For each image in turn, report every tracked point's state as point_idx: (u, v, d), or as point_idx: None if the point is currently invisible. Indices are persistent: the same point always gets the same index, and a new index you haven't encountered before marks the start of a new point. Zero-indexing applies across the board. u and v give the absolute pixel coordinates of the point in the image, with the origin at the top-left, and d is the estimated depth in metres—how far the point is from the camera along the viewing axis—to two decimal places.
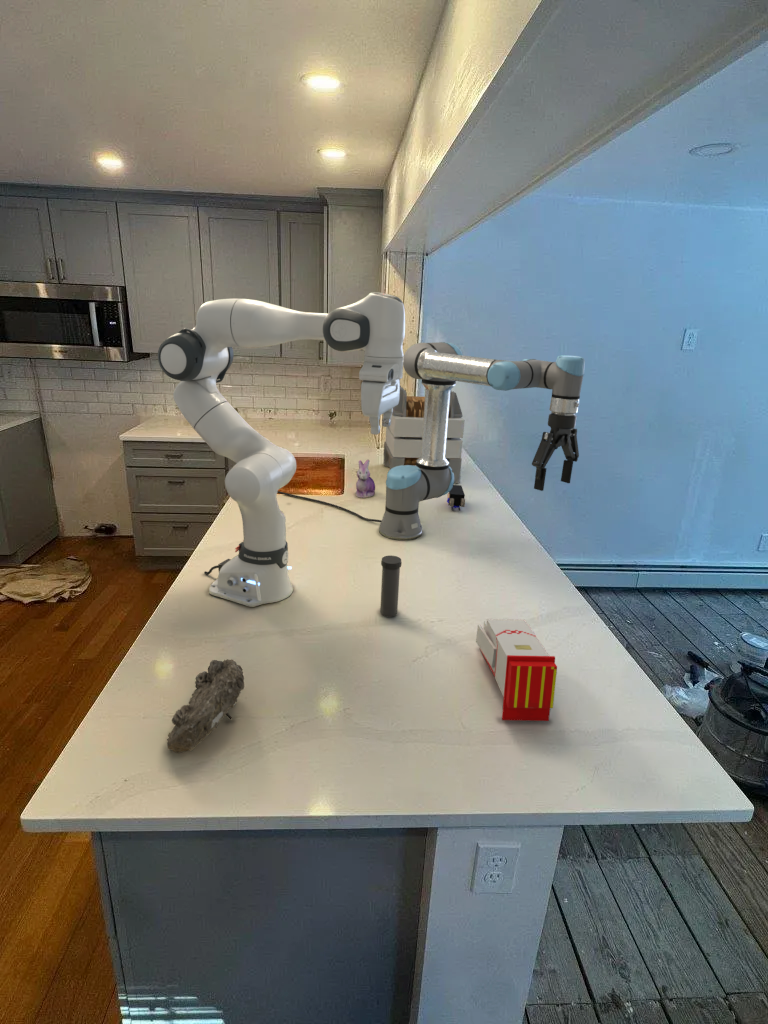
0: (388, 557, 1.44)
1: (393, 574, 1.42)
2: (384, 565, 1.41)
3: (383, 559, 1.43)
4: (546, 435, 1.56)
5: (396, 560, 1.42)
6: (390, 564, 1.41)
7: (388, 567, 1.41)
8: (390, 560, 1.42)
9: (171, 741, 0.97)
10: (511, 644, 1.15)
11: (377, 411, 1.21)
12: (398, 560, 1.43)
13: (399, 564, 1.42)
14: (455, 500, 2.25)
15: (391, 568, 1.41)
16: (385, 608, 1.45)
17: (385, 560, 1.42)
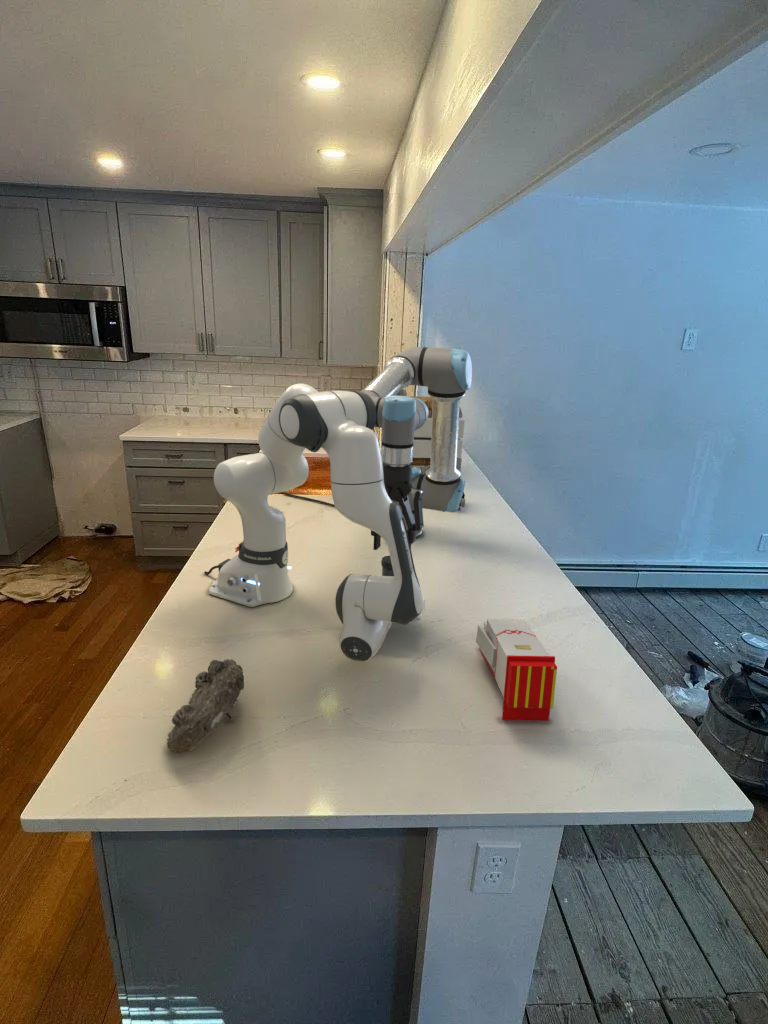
0: (388, 557, 1.44)
1: (393, 574, 1.42)
2: (384, 565, 1.41)
3: (383, 559, 1.43)
4: (421, 494, 1.34)
5: None
6: (390, 564, 1.41)
7: (388, 567, 1.41)
8: (390, 560, 1.42)
9: (171, 741, 0.97)
10: (511, 644, 1.15)
11: None
12: None
13: None
14: None
15: (391, 568, 1.41)
16: None
17: (385, 560, 1.42)
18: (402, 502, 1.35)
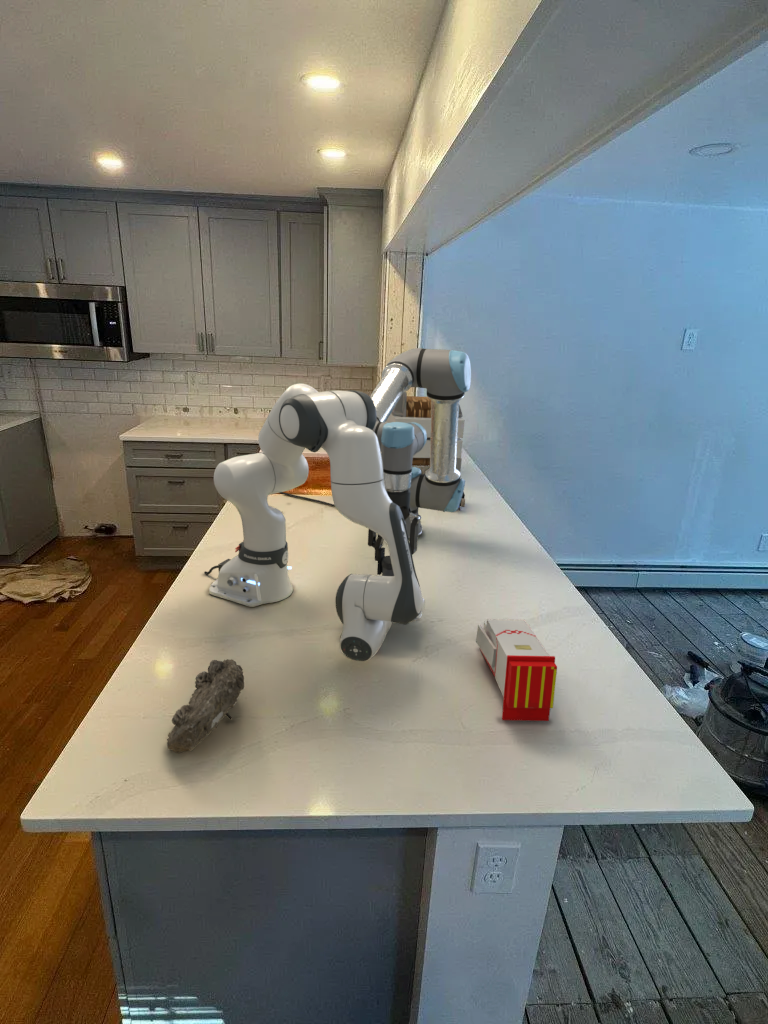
0: (388, 557, 1.44)
1: (393, 574, 1.42)
2: (384, 565, 1.41)
3: (383, 559, 1.43)
4: (419, 520, 1.37)
5: None
6: (390, 564, 1.41)
7: (388, 567, 1.41)
8: (390, 560, 1.42)
9: (171, 741, 0.97)
10: (511, 644, 1.15)
11: None
12: None
13: None
14: None
15: (391, 568, 1.41)
16: None
17: (385, 560, 1.42)
18: None
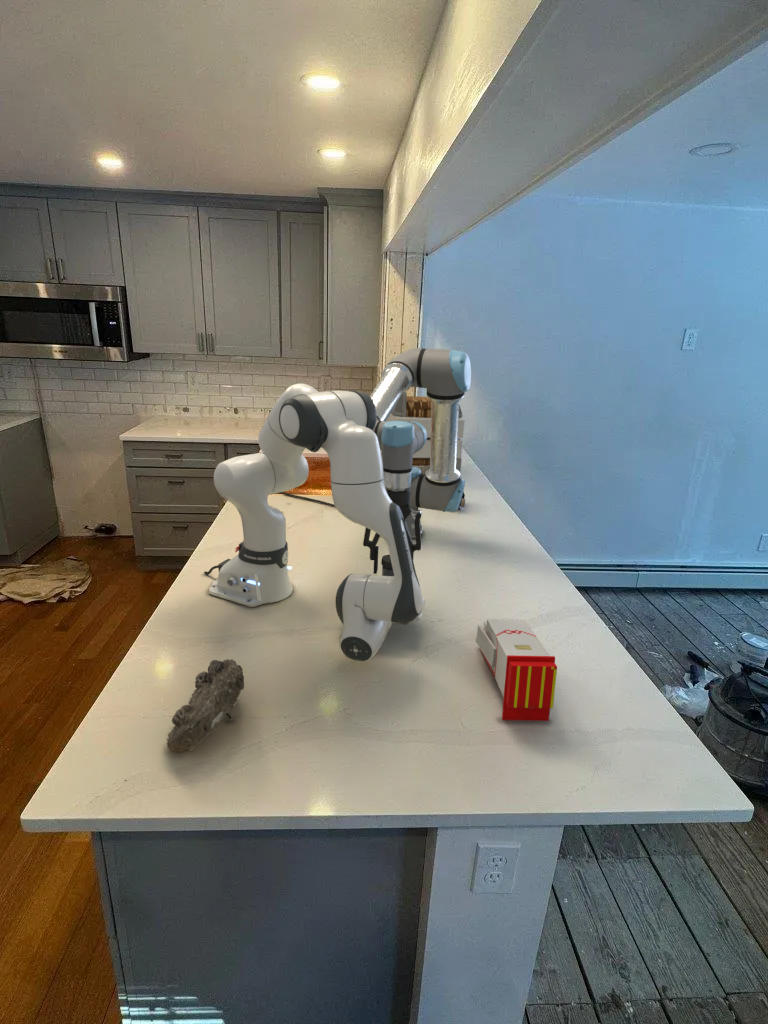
0: (388, 560, 1.42)
1: (393, 574, 1.42)
2: None
3: None
4: None
5: None
6: None
7: None
8: None
9: (171, 741, 0.97)
10: (511, 644, 1.15)
11: None
12: (389, 555, 1.44)
13: None
14: None
15: None
16: None
17: None
18: None
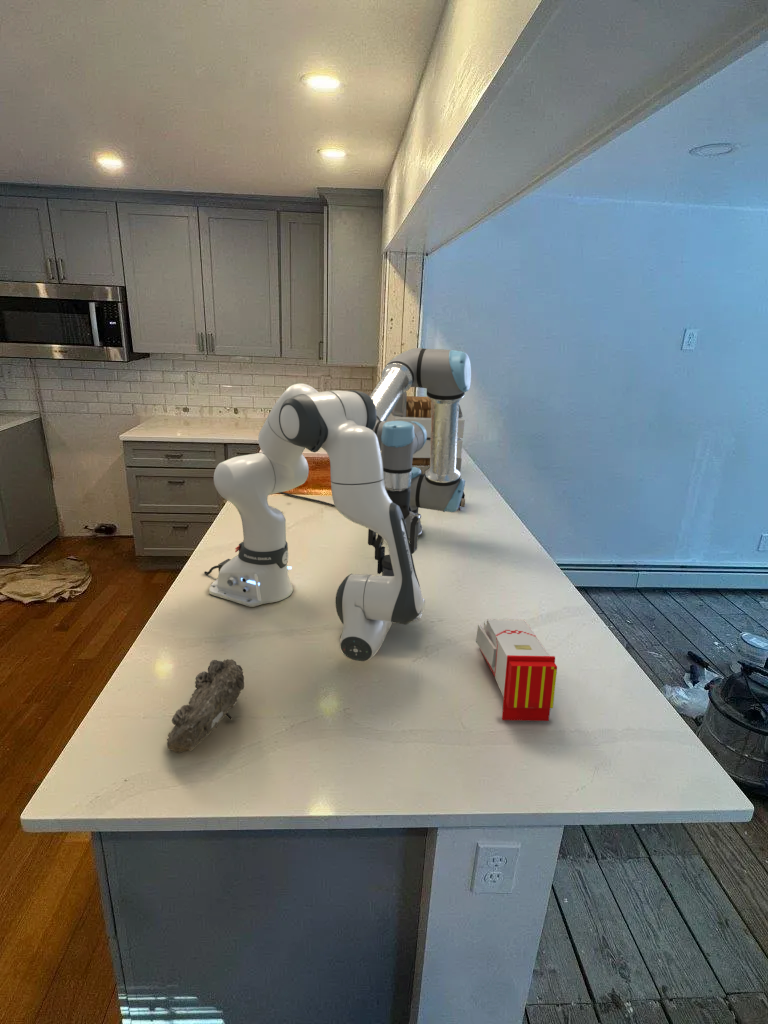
0: (388, 560, 1.42)
1: (393, 574, 1.42)
2: None
3: None
4: (419, 519, 1.37)
5: None
6: None
7: None
8: None
9: (171, 741, 0.97)
10: (511, 644, 1.15)
11: None
12: (389, 555, 1.44)
13: None
14: None
15: None
16: None
17: None
18: None
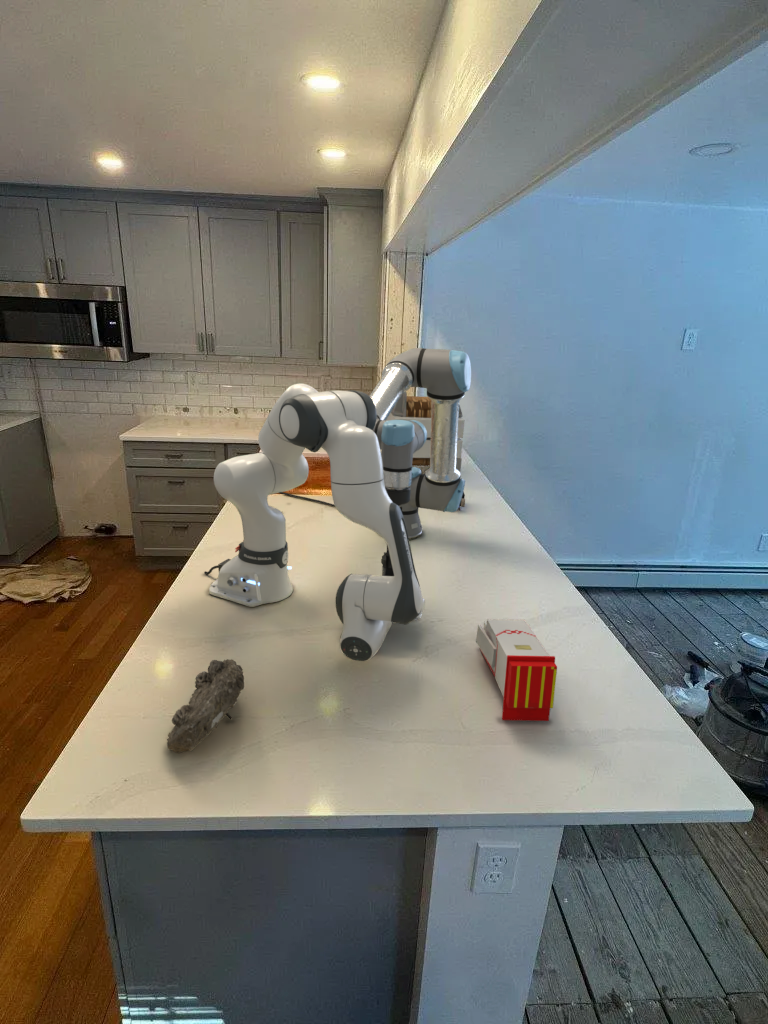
0: None
1: None
2: None
3: None
4: None
5: None
6: None
7: None
8: None
9: (171, 741, 0.97)
10: (511, 644, 1.15)
11: None
12: (385, 559, 1.42)
13: (381, 559, 1.43)
14: None
15: None
16: None
17: None
18: None
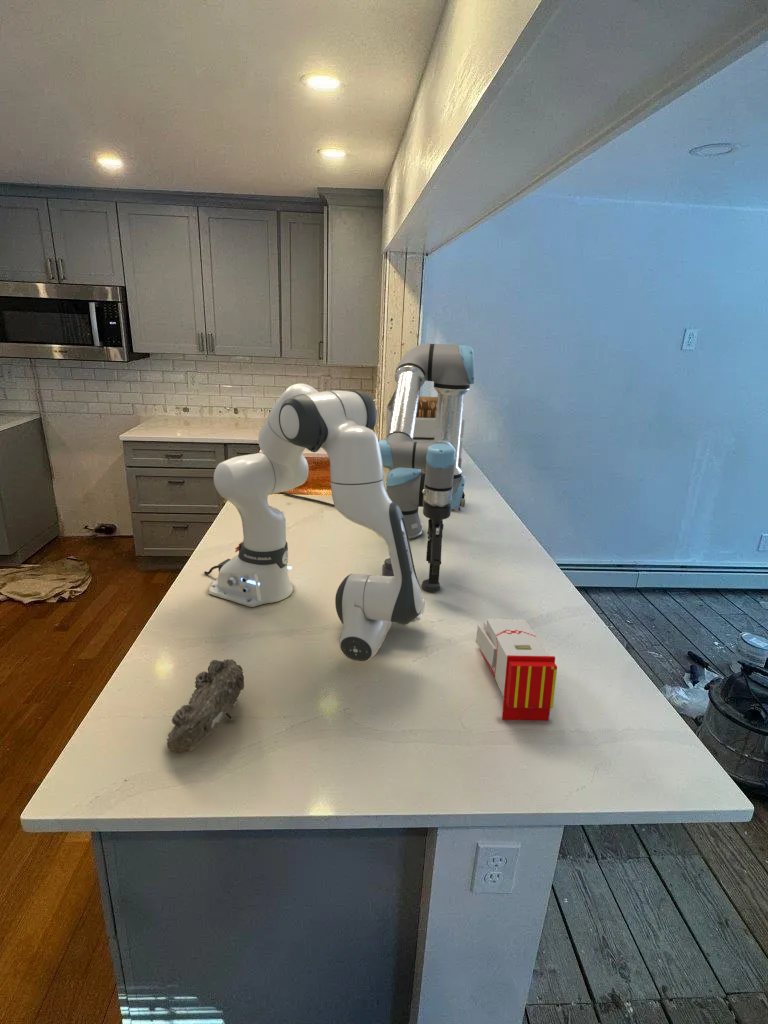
0: None
1: (393, 574, 1.42)
2: None
3: None
4: None
5: (426, 583, 1.61)
6: None
7: None
8: None
9: (171, 741, 0.97)
10: (511, 644, 1.15)
11: None
12: (426, 584, 1.60)
13: (422, 584, 1.61)
14: None
15: None
16: None
17: None
18: None
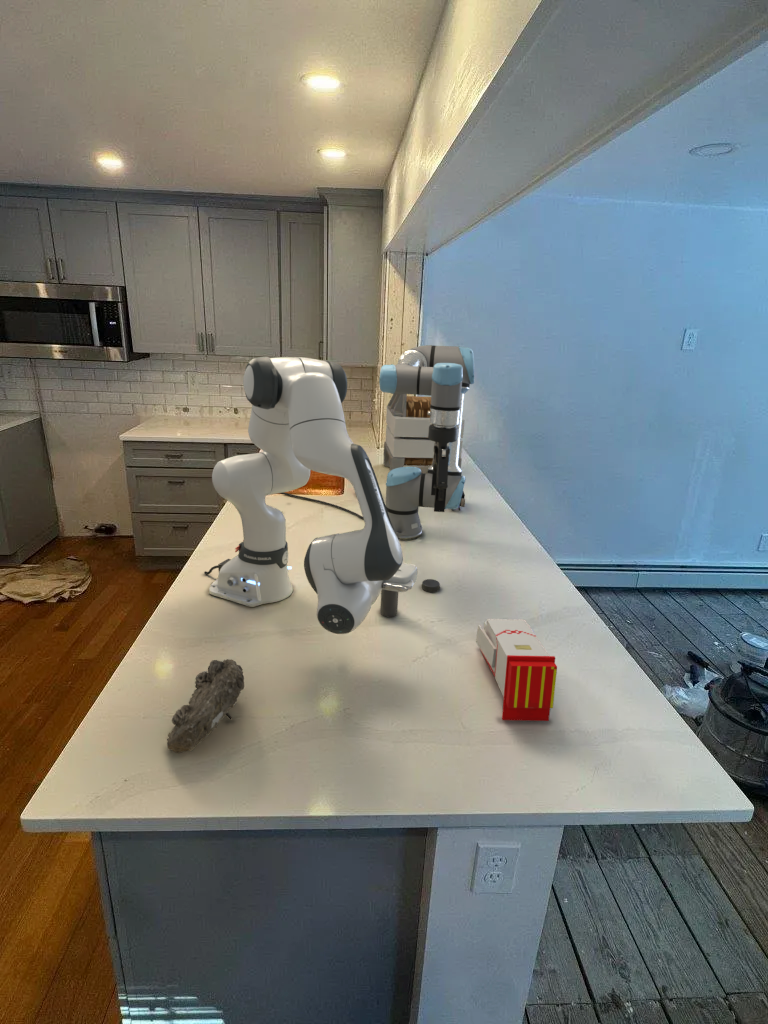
0: (435, 583, 1.61)
1: None
2: None
3: (435, 580, 1.63)
4: None
5: (426, 583, 1.61)
6: None
7: None
8: (430, 582, 1.62)
9: (171, 741, 0.97)
10: (511, 644, 1.15)
11: None
12: (426, 584, 1.60)
13: (422, 584, 1.61)
14: None
15: None
16: (385, 608, 1.45)
17: (432, 580, 1.63)
18: None
